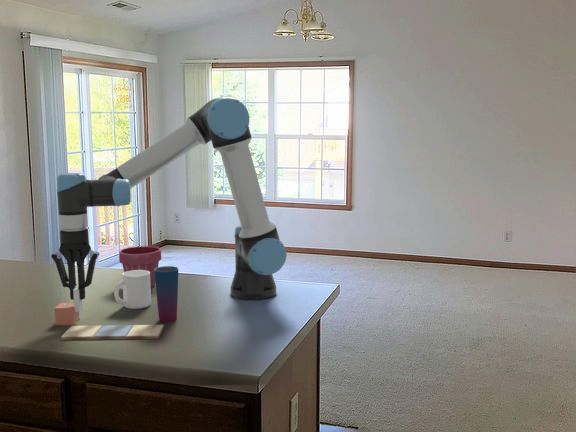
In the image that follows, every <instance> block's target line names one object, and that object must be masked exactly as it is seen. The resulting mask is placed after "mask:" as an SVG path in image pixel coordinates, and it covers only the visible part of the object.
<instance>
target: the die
mask: <svg viewBox="0 0 576 432" xmlns="http://www.w3.org/2000/svg"><path fill="white" fill-rule="evenodd" d="M54 317H55V318H54V319H55V326H75V325H76V323H77V322H78V321H79V320H80V312H74V302H60V303H59V304H58V305H56V306H55V307H54Z"/></svg>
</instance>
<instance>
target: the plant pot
mask: <svg viewBox="0 0 576 432" xmlns="http://www.w3.org/2000/svg"><path fill="white" fill-rule="evenodd" d="M118 259H119V263H120V264H121V265H122V269H123V273H124V272H127V271H131V270H146V271H149V272H150V287H151V288H153V287H156V284H155V274H154V269H155V268H158V267H159V263H160V261H161V260H162V249H161V247H158V246H148V245H145V246H143V245H142V246H132V247H126V248H122V249H120V250H119V251H118Z"/></svg>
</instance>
